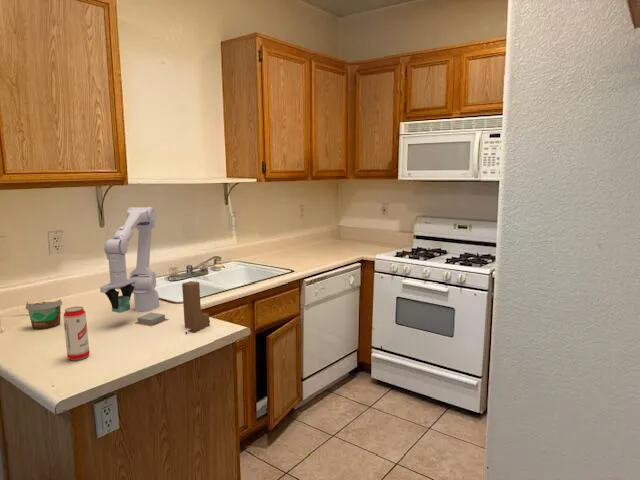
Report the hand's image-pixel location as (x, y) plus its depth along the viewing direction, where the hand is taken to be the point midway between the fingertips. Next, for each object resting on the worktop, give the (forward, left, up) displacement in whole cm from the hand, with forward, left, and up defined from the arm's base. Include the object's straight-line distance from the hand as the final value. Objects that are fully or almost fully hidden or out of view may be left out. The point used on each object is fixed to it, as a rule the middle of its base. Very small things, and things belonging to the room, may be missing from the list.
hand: (121, 306), depth 170 cm
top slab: (-8, +7, -7) cm, 13 cm away
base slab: (-8, +7, -9) cm, 14 cm away
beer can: (+25, +10, -9) cm, 29 cm away
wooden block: (-12, +26, -9) cm, 30 cm away
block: (0, 0, -1) cm, 1 cm away
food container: (+12, -28, -9) cm, 32 cm away
